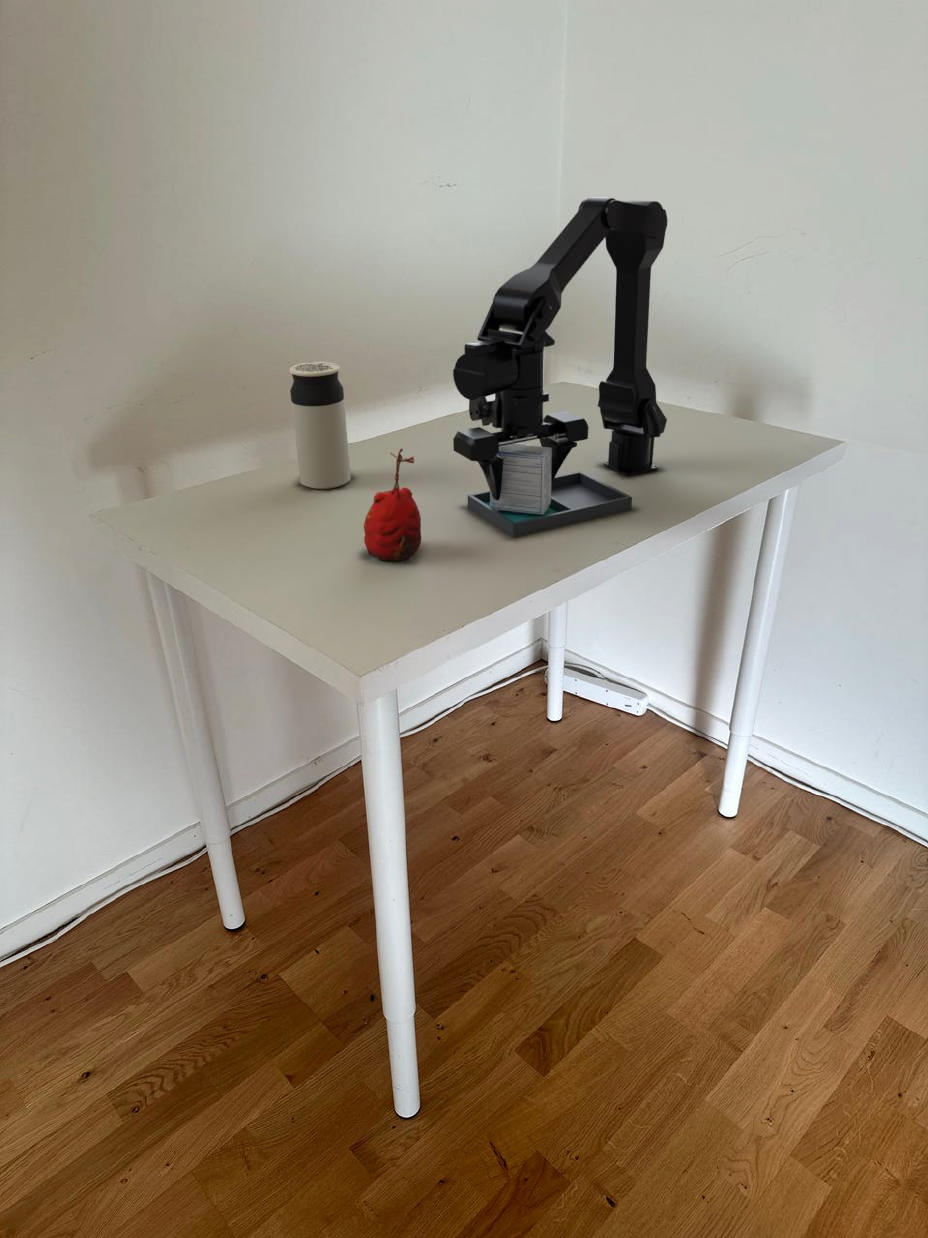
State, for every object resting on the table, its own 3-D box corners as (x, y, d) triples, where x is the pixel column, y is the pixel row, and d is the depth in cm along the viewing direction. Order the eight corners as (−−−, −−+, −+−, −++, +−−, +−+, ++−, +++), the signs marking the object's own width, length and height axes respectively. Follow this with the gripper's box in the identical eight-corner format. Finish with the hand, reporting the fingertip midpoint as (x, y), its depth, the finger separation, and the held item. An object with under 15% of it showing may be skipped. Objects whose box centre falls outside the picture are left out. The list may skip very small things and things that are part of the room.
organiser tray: (580, 483, 142) (580, 470, 141) (631, 509, 131) (632, 496, 130) (467, 507, 133) (467, 494, 132) (513, 538, 123) (513, 524, 122)
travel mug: (329, 493, 140) (317, 375, 131) (289, 484, 143) (276, 369, 135) (360, 478, 145) (352, 364, 137) (322, 469, 149) (311, 358, 140)
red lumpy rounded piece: (407, 538, 124) (401, 431, 117) (433, 556, 119) (429, 445, 111) (357, 551, 120) (348, 442, 113) (382, 570, 115) (374, 456, 108)
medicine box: (551, 504, 131) (553, 446, 126) (543, 516, 127) (544, 456, 123) (499, 499, 133) (499, 441, 129) (489, 510, 129) (489, 451, 125)
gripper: (548, 363, 131) (545, 466, 139) (433, 381, 124) (437, 489, 131) (593, 379, 123) (587, 488, 130) (472, 399, 115) (474, 514, 123)
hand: (521, 493), depth 129 cm, fingers closed on medicine box, 8 cm apart
